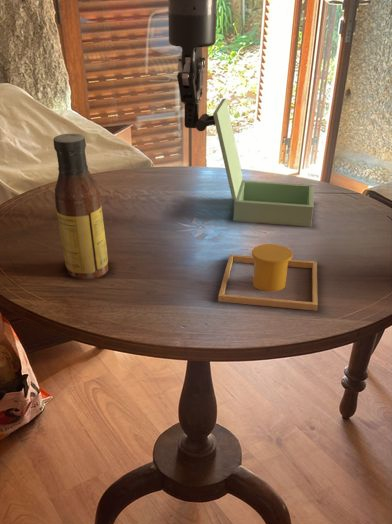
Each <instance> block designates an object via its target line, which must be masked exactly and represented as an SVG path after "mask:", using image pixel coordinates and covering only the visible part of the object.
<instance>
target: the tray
mask: <svg viewBox="0 0 392 524" xmlns="http://www.w3.org/2000/svg"><path fill="white" fill-rule="evenodd" d="M233 263H245V264H255V258H254V257H253V256H252V255H241V254H229V256H228V260H227V263H226V265H225V266H226V267H225V271H224V274H223V278H222V281H221V285H220V288H219V291H218V295H217V301H218V302H220V303H230V304H241V305H251V306H252V305H253V306H262V307H274V308H284V309H292V310H293V309H295V310H304V311H317V310H318V261H314V260H313V261H312V260H303V259H302V260H301V259H300V260H298V259H291V260H290V261H288V266H287V267H291V268H304V269H311V301H304V300H303V301H301V300H290V299H282V298H269V297H261V296H260V297H259V296H248V295H237V294H226V291H227V286H228V282H229V278H230V274H231V271H232V268H233Z"/></svg>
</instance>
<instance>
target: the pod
mask: <svg viewBox="0 0 392 524" xmlns="http://www.w3.org/2000/svg"><path fill="white" fill-rule="evenodd" d="M251 256H253V257H254V258H255V263H254V267H253V279H252V284H253V286H254V287H255V288H256V289H257V290H260V291H264V292H271V293H273V292H279V291H282V290H283V289H285V287H286V283H287V274H288V267H289V266H288V261H290V260H293V259H292V258H293V251H292V250H291V249H290V248H288V247H286V246H284V245H281V244H273V243H265V244H260V245H257V246H254V247H253V249H251Z"/></svg>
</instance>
